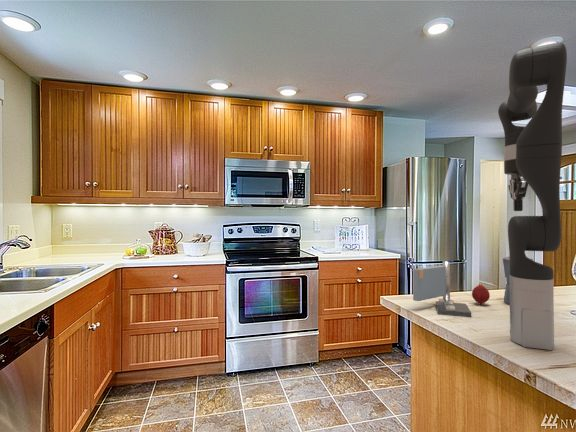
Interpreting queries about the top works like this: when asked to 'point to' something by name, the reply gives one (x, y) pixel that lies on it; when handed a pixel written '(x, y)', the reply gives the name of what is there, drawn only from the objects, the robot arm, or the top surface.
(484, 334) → the top surface
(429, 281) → the grey standing sign
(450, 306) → the grey flat base plate
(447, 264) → the hinge post
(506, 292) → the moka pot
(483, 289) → the onion
